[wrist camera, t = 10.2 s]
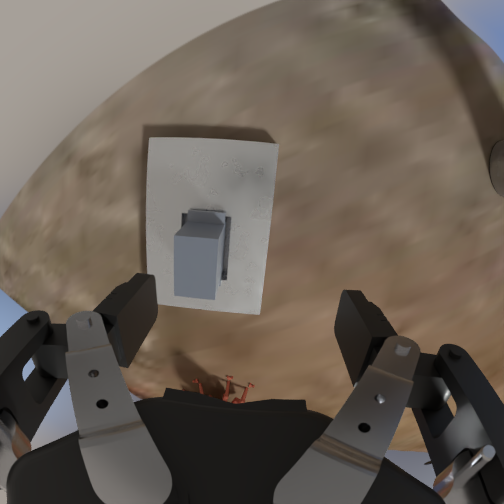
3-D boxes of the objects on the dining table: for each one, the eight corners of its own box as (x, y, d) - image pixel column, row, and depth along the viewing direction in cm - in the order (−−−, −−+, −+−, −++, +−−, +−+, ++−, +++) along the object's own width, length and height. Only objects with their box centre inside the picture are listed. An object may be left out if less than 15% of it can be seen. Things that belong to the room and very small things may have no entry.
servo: (227, 209, 32) (219, 225, 24) (222, 277, 34) (214, 310, 27) (192, 206, 32) (174, 222, 24) (190, 274, 34) (174, 306, 27)
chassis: (277, 144, 30) (279, 144, 28) (259, 307, 36) (259, 314, 34) (154, 138, 29) (149, 137, 27) (153, 296, 36) (149, 302, 34)
